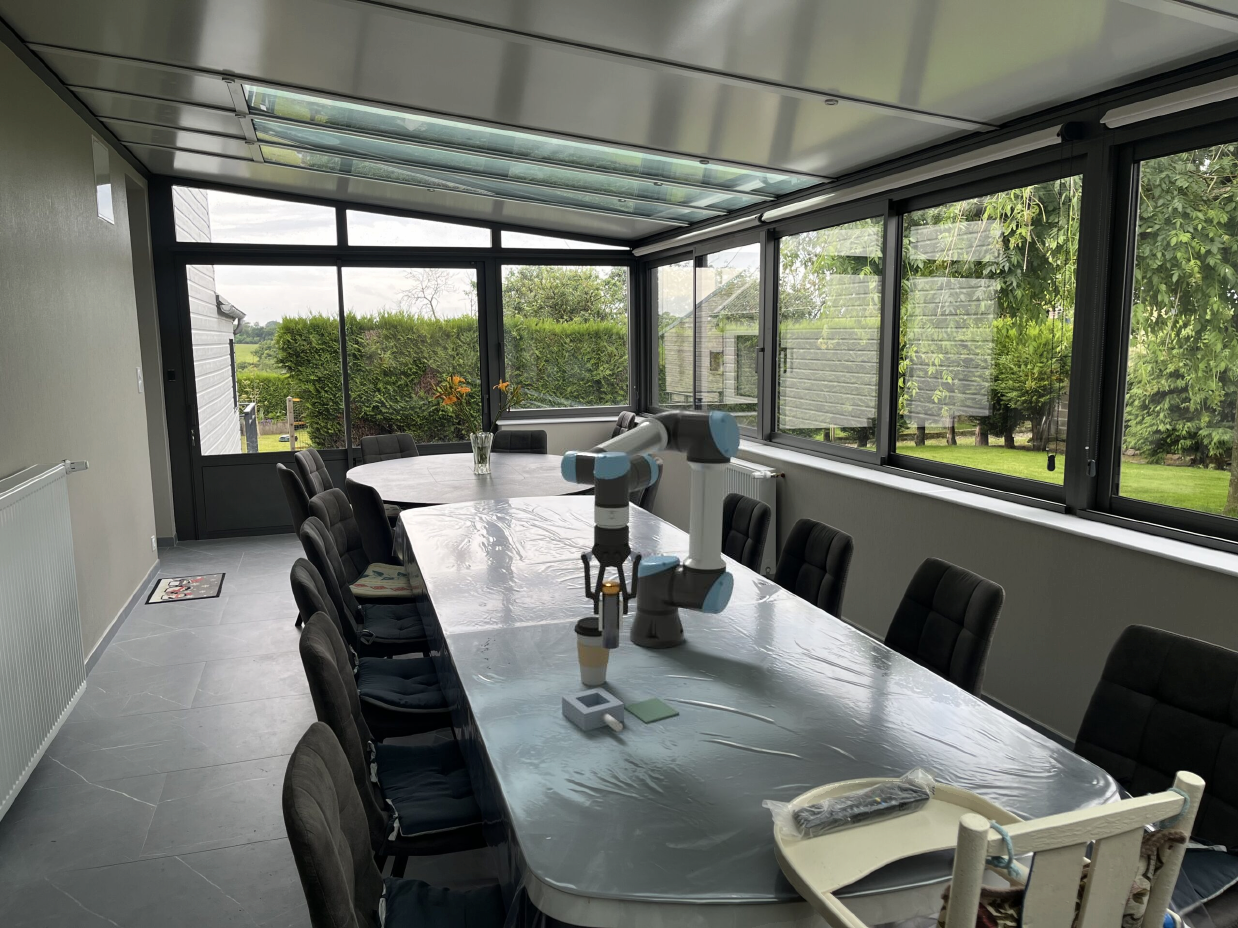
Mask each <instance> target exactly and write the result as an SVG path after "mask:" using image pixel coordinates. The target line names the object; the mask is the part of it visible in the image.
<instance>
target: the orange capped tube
mask: <svg viewBox="0 0 1238 928" xmlns="http://www.w3.org/2000/svg"><path fill="white" fill-rule="evenodd" d="M620 593H622V592H621V587H620V581H614V580H613V581H612V580H611V581H603V583H602V588H601V598H602V647H603V648H606V649H610V650H614V649H617V648H619V646H620V631H619V600H620V598H621V597H620V596H621V595H620Z"/></svg>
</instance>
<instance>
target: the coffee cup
mask: <svg viewBox="0 0 1238 928" xmlns="http://www.w3.org/2000/svg"><path fill="white" fill-rule="evenodd" d="M573 631H574V633H576V639H577V640H576V646H577V658H578V663H579V672H580V681H581V683H583V684H585V685H587V686H601V685H603V684H604V683H606V679H607V678H606V677H607V670H608V664H609V658H610V653H611V651H610V650H611V649H606V648H603V647H602V631H599V616H587V617H582V618H580V619H578V621H577V623H576V624H575V626H574V629H573Z"/></svg>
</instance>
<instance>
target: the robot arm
mask: <svg viewBox="0 0 1238 928" xmlns="http://www.w3.org/2000/svg"><path fill="white" fill-rule="evenodd" d="M738 424H739V423H738V422H737V420H736V418H735V417H734V416H733V414H731V413H729V412H727V411H721V410H720V411H719V410H711V409H710V410H709V409H708V410H705V409H686V408H673V409H669V410H665V411H662V412H659V413H656V414H653V415H650V416H648V417H646V418H645V419H642V420H641V421H639V422H638V424H637V425H636V427H634V428H632V429H630V430H628V431H626V432H624V433H622V434H620V435H617V436H615V437H613V438H610V439H609V440H607V441H604V442H603V443H600V444H597V446H594V447H592V448H590V449H588V450H583V451H582V450H578V449H577V450H569V451H567V452H566V453H565V454H564V455H563V456H562V460H561V462H560V471H561V472H560V473H561V477H562V478H563V479H564V480H565V481H566V482H569V483H573V484H576V485H584V486H585V485H587V486H594V504H593V508H594V510H593V511H594V512H593V513H594V516H593V517H594V519H593V520H594V521H593V523H595V524H594V527H593V546H592V547H591V549H590V550H588V551H582V552H580V553H581V554H580V560H581V562H582V564H583V572H584V573H583V574H584V593H585V595H584V596H585V598H586V599H590V600H592V601H593V615H595V616H596V615H597V616H598V617H599V631H602V597H601V594H602V592H601V588H602V583H603V582H604V578H605V574H606V569H607V568H611V567H613V568H616V569H617V570H616V571H617V576H618V582H619V583H620V587H621V592H620V593H621V597H620V600H619V632H623V629H624V628H623V627H624V625H623V623H624V620H623V619H624V616H626V615H627V616H628V614H629V601H630V600H632V599H633V600H634V599H636V612H635V615H634V618H633V620H632V624H631V627H630V629H629V638H630V641H631V642H632V643H634V644H636V645H638V646H640V647H644V648H645V647H646V648H650V649H652V648H655V649H662V648H663V649H666V648H672V647H675V646H679V645H681V644H682V643H683V642H684V641H685V632H684V628H683V624H682V621H681V617H680V613H679V609H683V610H690V611H695V612H698V613H702V614H710V615H720V614H721V613H722V612H724V610H725V609H726V608H727V606H728V605H729V602H730V601H731V598H732V595H733V591H734V590H733V589H734V585H735V580H734V579H735V578H734V575H733V574H732V573H731V572H729V571H727V562H726V561H725V560H724V559H723V557H722V539H723V537H722V536H723V535H722V534H723V512H724V489H725V488H724V487H725V469H726V468H727V467H728V466H729V465H730V464H731V460H732V458H733V457H736V456H737V455H738V453H739V450H740V449H739V448H740V446H741V444H740V443H741V435H740V427H739V425H738ZM661 452H674V453H683V454H686V458H685V459H686V460H685V461H686V463H687V464H688V465H689V466H690V467H691V478H690V479H691V484H690V507H689V508H690V509H689V510H690V512H689V534H688V535H689V536H688V539H689V541H688V556H686V558H685V559H683V561H682V564H681V560H680V558H679V557H678V556H675V555H657V556H655V555H654V556H651V557H647V558H645V559H643V557H642V552H640V551H638V552H636V551H634V550H632V548H631V547H630V526H629V525H628V524H629V523H630V493H632V492H636V491H640V490H644V489H647V488H648V487H650V486H652V485H653V484H654V483H655V482H656V481H657V479H658V477H659V466H658V463H657V462H656V460H655V459H654V458H653V457H652V456H649V454H650V455H655V454H659V453H661ZM593 557H594V558H595V559H596V560H597V562H598V563H599V569H598V572H597V573H598V574H597V578H596V582H595V588H594V591H592V582H591V561H592V559H593ZM629 557H630V560H631V562H632V570H631V582H630V583H631V584H630V591H628V587H627V582H626V577H625V571H624V566H623V564H624V563H625V562H626V560H627V559H628V558H629Z"/></svg>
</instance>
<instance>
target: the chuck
mask: <svg viewBox="0 0 1238 928" xmlns="http://www.w3.org/2000/svg"><path fill="white" fill-rule="evenodd" d="M624 706H625V703H624V702H622V701H621V700H619V699H618V698H617V697H616V696H614V695H612V694H611V693H610V692H609V691H607V690H606V689H604V688H602V687H601V686H600V687H596V688H591V689H587V690H583V691H579V692H576V693H571V694H567V695H563V696H561V714H562V715H563V716H564V717H566V718H567V719H569V720H570V721H571V722H572V723H573V724H575V726H577V727H578V728H579V729H580V730H582V731H583V732H587V731H591V730H595V729H599V728H602V727H607V726H609V727H611V728H612V729H613V730H614V731H616V732H617V733H619V732H621V731H622V730H623V728H624V727H623V724H622V723H621V722H623V721H625V719H624V718H625V708H624Z"/></svg>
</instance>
